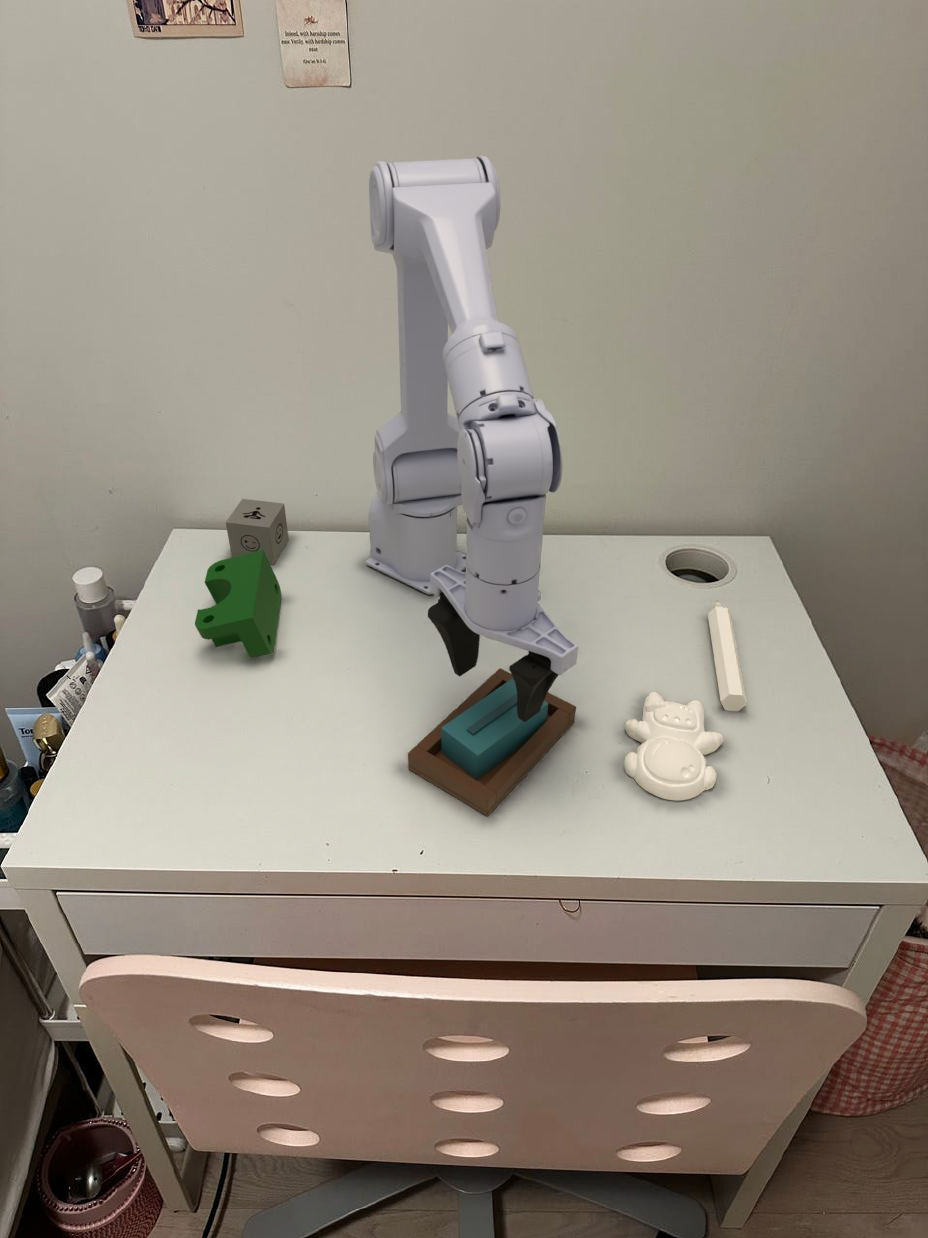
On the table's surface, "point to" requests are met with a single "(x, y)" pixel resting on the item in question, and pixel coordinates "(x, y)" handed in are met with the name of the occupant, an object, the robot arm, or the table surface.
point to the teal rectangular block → (489, 731)
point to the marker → (726, 659)
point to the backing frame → (505, 774)
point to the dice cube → (258, 529)
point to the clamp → (242, 604)
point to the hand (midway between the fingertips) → (496, 691)
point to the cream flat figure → (671, 749)
